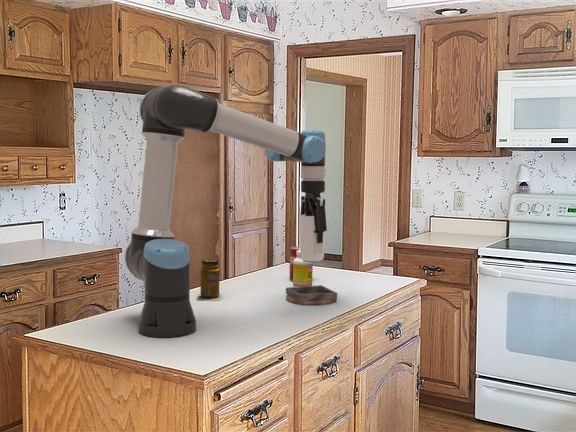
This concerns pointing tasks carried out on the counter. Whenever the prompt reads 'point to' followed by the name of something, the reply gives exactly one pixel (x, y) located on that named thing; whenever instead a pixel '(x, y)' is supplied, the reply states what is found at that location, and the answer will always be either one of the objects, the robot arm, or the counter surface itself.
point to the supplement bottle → (302, 271)
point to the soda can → (292, 257)
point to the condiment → (209, 280)
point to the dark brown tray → (310, 295)
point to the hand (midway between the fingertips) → (312, 250)
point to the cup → (309, 239)
